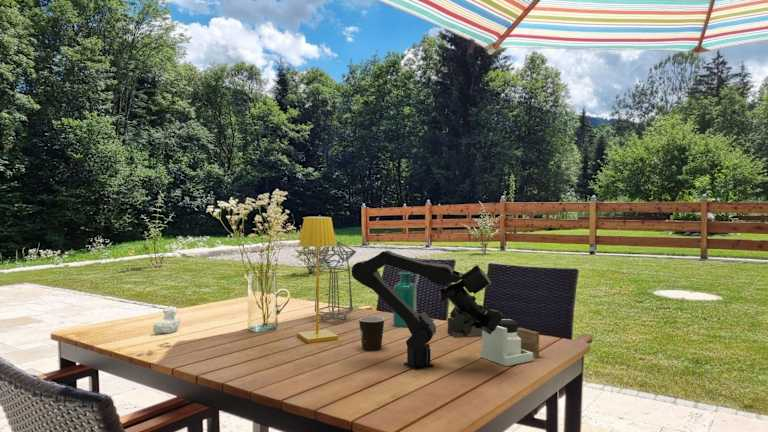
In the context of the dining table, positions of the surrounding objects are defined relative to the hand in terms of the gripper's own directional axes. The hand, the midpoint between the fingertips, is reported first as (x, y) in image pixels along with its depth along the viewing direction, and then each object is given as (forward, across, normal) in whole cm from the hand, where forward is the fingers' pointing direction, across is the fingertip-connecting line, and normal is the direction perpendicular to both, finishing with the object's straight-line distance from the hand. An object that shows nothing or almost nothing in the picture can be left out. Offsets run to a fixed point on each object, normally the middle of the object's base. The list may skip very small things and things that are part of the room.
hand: (490, 333), depth 153 cm
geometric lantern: (-6, -78, -20) cm, 80 cm away
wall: (+18, 0, +5) cm, 18 cm away
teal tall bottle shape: (+10, -56, -3) cm, 57 cm away
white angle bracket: (+12, 0, -1) cm, 12 cm away
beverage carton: (+20, -31, +7) cm, 38 cm away
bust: (-51, -91, -64) cm, 123 cm away
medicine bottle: (+12, 0, -1) cm, 12 cm away
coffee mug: (-10, -33, -23) cm, 42 cm away
